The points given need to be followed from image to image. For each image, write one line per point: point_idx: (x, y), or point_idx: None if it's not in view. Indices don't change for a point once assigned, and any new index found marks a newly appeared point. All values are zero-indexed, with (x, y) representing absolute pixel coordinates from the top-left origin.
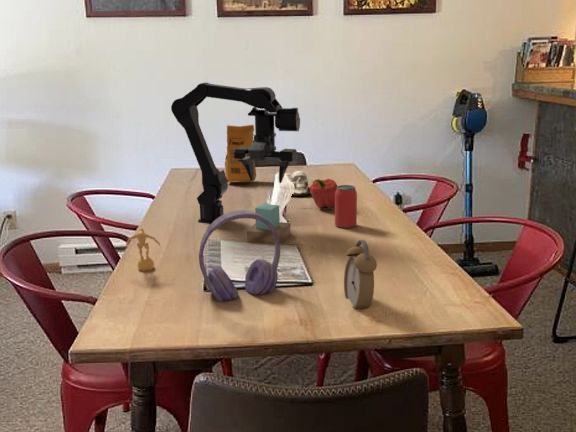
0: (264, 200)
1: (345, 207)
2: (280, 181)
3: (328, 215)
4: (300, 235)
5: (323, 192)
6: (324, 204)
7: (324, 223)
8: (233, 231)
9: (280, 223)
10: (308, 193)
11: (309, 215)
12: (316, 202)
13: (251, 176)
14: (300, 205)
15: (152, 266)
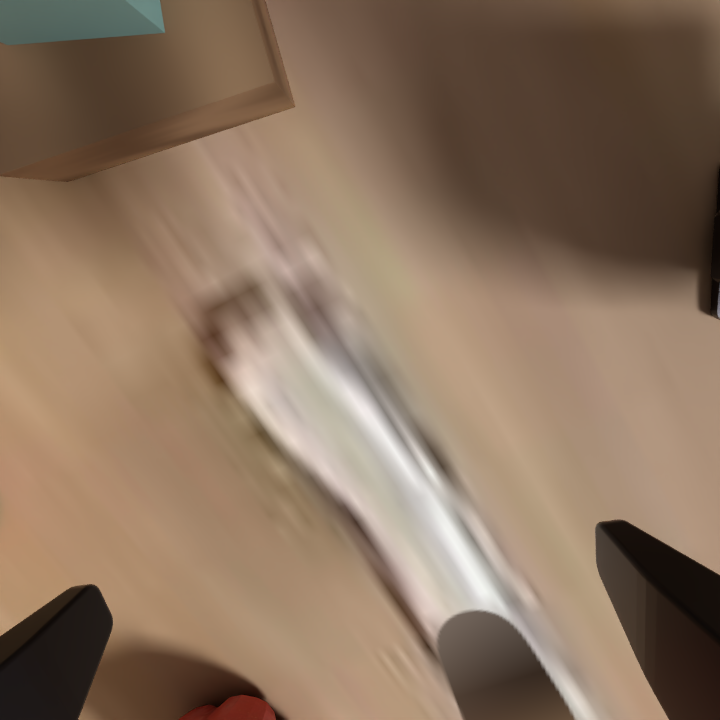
0: (609, 711)
1: None
2: (48, 603)
3: (136, 607)
4: (5, 202)
5: None
6: (212, 712)
7: (58, 482)
8: (486, 35)
9: (51, 119)
10: None
11: (223, 573)
12: (248, 714)
13: (653, 585)
14: (371, 697)
15: None
